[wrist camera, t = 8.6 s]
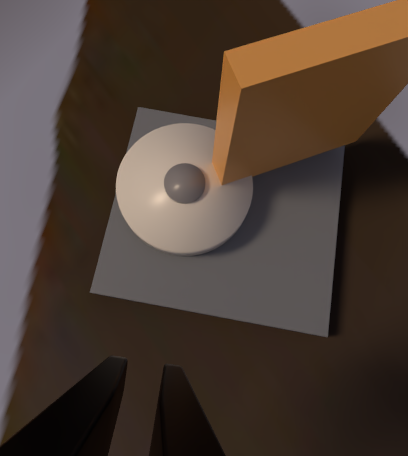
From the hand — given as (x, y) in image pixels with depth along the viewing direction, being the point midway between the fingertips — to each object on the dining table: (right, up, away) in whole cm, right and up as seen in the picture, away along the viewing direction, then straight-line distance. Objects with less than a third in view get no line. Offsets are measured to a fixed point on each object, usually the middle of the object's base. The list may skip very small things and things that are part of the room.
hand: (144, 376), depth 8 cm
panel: (+3, +4, +15) cm, 16 cm away
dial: (+4, +7, +14) cm, 16 cm away
